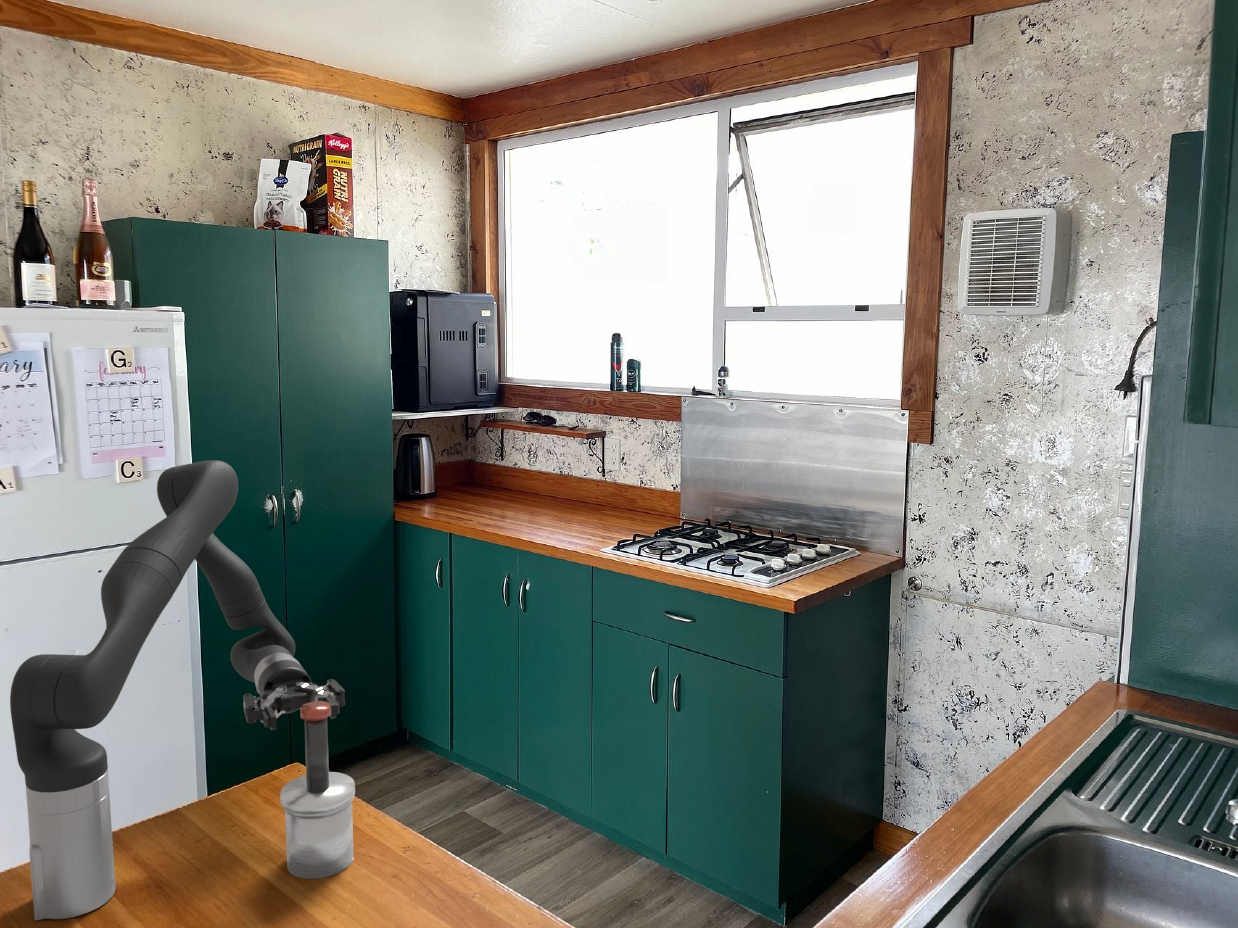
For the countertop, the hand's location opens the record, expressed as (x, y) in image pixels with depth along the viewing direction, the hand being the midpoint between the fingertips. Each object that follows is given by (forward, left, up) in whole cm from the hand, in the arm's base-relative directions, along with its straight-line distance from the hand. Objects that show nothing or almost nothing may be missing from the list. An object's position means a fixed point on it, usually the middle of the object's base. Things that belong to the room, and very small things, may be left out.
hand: (304, 717), depth 136 cm
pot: (0, -8, -18) cm, 20 cm away
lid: (0, -8, -9) cm, 12 cm away
